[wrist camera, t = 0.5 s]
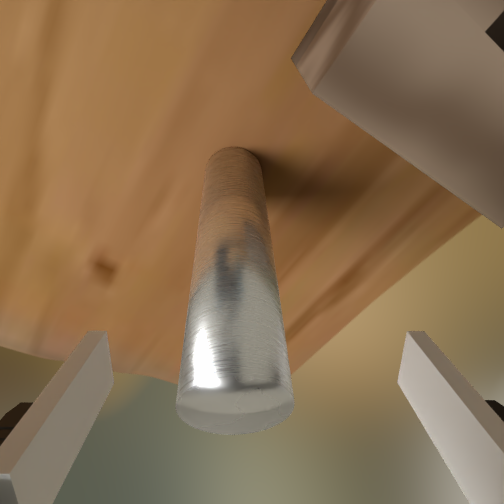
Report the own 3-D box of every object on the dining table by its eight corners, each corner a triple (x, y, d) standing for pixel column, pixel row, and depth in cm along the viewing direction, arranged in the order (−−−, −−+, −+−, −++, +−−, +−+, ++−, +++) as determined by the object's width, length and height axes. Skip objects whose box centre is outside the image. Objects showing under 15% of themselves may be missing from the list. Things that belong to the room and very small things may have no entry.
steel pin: (202, 148, 24) (165, 380, 11) (261, 145, 24) (297, 373, 11) (208, 199, 26) (184, 437, 13) (261, 197, 26) (291, 431, 13)
